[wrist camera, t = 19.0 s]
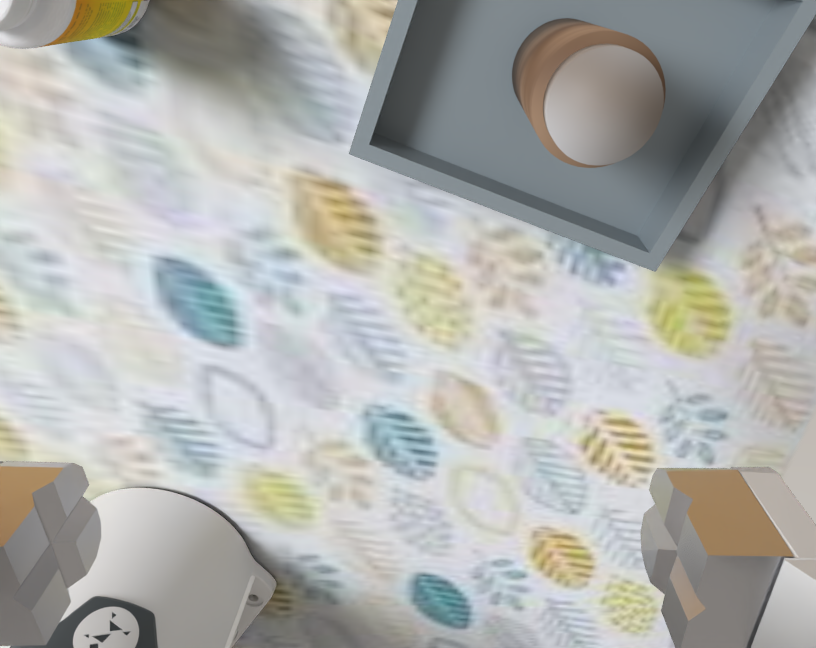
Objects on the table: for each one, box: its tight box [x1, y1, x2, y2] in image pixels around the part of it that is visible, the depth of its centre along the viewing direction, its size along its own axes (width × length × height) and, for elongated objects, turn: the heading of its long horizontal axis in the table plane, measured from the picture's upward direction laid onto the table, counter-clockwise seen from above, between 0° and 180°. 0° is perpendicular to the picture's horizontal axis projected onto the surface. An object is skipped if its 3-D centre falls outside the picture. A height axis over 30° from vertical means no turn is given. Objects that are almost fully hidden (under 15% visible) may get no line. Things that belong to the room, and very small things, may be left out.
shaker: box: [512, 18, 666, 168], centre depth 27 cm, size 5×5×10 cm
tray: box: [349, 0, 816, 272], centre depth 31 cm, size 14×17×4 cm
